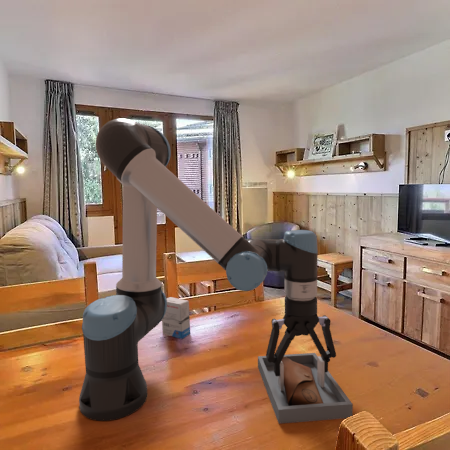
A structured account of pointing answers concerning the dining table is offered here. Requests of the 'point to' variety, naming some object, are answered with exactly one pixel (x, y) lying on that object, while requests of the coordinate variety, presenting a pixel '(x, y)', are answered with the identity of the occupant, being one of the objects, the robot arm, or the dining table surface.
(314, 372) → the holder
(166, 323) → the ink box
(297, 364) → the sunglasses case
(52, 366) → the dining table surface
